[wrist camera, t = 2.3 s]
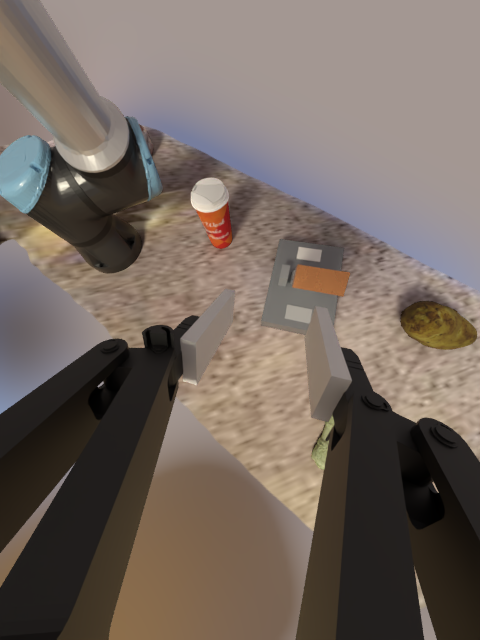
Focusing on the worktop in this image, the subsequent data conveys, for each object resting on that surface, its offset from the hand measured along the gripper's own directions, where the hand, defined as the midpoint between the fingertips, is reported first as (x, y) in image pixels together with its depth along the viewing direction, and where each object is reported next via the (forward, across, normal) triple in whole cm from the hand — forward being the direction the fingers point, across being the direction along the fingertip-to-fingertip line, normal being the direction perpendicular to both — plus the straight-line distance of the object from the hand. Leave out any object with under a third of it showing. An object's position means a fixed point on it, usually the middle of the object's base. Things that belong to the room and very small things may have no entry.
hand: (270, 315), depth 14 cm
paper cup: (+39, -17, -2) cm, 42 cm away
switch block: (+31, +5, -9) cm, 33 cm away
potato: (+29, +30, -12) cm, 43 cm away
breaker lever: (+29, +5, -5) cm, 30 cm away
